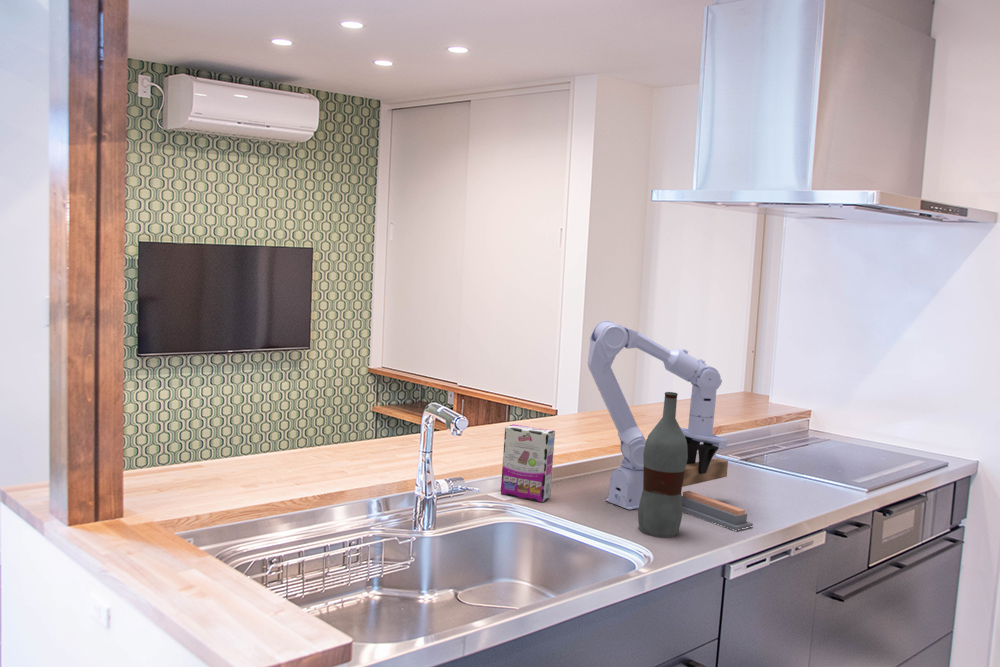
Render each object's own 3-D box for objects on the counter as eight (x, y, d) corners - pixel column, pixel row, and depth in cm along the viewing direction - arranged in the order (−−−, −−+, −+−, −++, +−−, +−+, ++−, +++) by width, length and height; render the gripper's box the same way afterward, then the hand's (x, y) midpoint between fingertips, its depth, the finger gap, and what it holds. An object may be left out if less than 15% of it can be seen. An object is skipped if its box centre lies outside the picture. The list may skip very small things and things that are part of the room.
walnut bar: (673, 488, 190) (674, 472, 189) (663, 485, 192) (664, 468, 192) (726, 476, 202) (728, 460, 202) (716, 473, 204) (717, 457, 204)
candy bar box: (550, 498, 195) (556, 430, 194) (543, 503, 191) (548, 433, 189) (508, 489, 200) (513, 423, 198) (499, 494, 195) (504, 426, 194)
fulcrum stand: (735, 531, 180) (737, 513, 180) (672, 508, 194) (674, 491, 194) (752, 527, 184) (754, 510, 183) (689, 505, 198) (690, 488, 197)
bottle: (670, 523, 182) (682, 390, 179) (687, 538, 173) (701, 397, 170) (630, 523, 180) (642, 388, 177) (646, 538, 171) (659, 396, 168)
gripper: (737, 420, 192) (731, 477, 194) (688, 408, 204) (683, 462, 205) (718, 422, 188) (713, 480, 189) (669, 410, 199) (664, 465, 200)
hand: (696, 471), depth 197 cm, fingers closed on walnut bar, 3 cm apart
